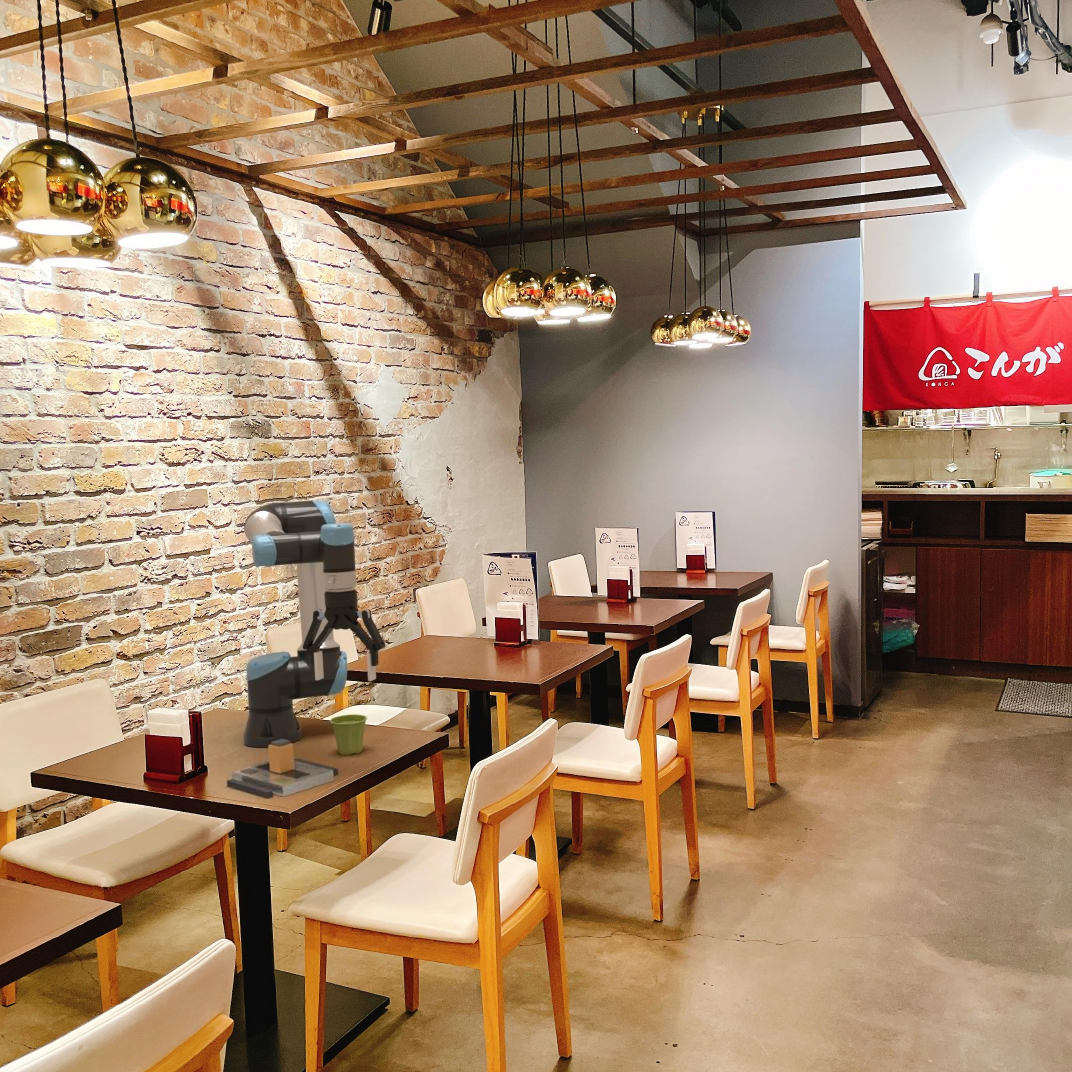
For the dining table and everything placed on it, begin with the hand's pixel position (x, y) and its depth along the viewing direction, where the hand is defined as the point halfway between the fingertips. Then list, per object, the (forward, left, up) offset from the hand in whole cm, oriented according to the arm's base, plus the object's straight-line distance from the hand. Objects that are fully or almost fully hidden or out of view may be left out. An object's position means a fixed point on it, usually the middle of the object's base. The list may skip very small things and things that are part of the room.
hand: (345, 679), depth 235 cm
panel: (-11, -12, -23) cm, 28 cm away
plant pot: (-17, +13, -23) cm, 32 cm away
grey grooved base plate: (-11, -12, -23) cm, 28 cm away
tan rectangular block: (-11, -12, -20) cm, 26 cm away
